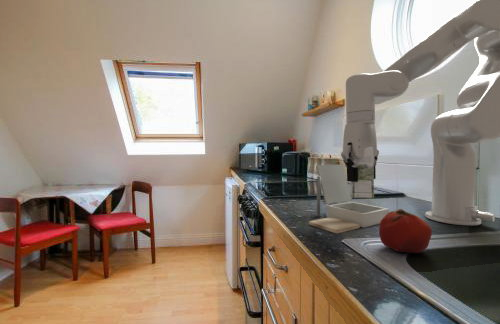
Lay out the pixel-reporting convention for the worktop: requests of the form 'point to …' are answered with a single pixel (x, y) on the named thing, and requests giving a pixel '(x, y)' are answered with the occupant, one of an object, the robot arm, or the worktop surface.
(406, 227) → the tomato
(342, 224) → the plate
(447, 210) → the robot arm
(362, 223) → the case
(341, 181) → the lid
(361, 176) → the syrup box
